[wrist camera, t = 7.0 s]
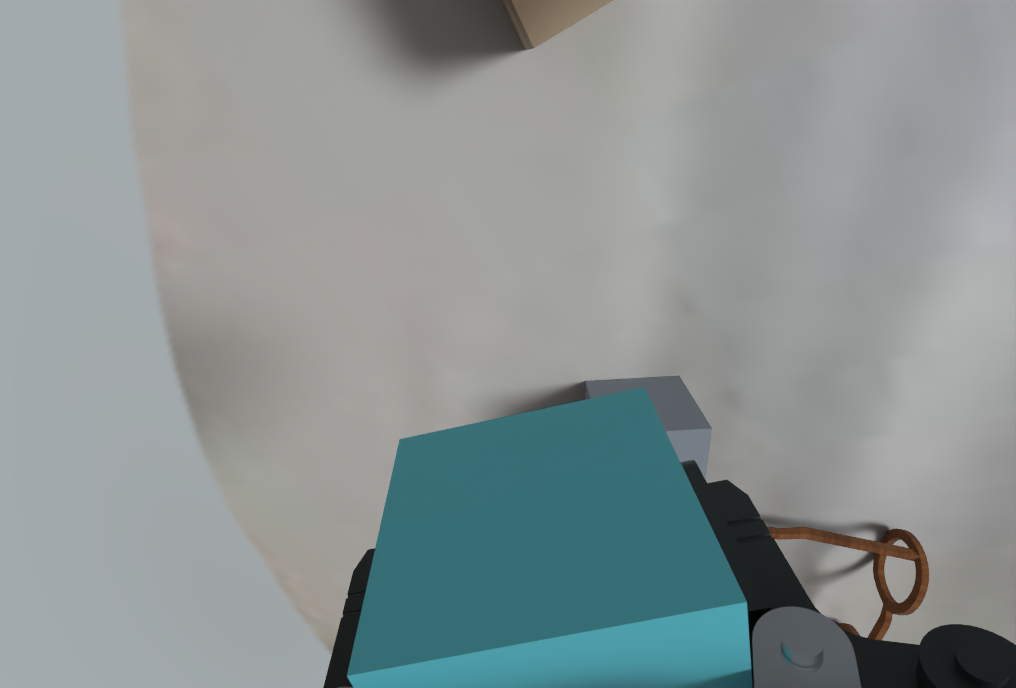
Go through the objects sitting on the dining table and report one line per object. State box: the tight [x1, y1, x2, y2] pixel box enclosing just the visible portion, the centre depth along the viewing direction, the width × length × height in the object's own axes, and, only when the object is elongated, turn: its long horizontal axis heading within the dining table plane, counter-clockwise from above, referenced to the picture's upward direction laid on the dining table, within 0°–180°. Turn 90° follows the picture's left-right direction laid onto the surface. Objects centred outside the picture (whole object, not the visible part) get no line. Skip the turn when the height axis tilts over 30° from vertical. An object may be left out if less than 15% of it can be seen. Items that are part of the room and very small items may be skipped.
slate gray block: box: [585, 376, 712, 478], centre depth 30 cm, size 5×5×5 cm
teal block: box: [347, 387, 753, 688], centre depth 10 cm, size 5×5×5 cm
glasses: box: [767, 527, 929, 640], centre depth 36 cm, size 13×13×5 cm
